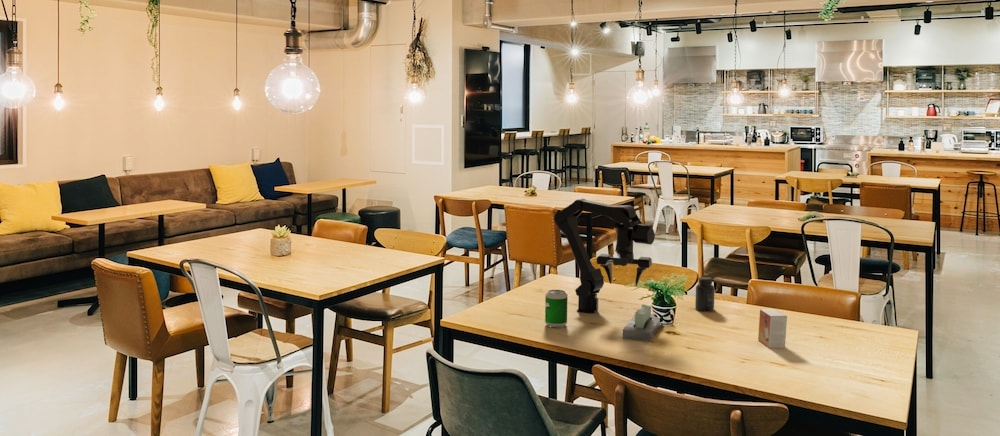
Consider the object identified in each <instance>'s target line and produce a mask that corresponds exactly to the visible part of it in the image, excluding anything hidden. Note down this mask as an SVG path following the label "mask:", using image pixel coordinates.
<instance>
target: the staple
mask: <svg viewBox="0 0 1000 436" xmlns="http://www.w3.org/2000/svg"><path fill="white" fill-rule="evenodd" d="M651 314H652V305H651V304H644V303H643V304H641V306H640V307H639V308H638V309H637V311H636V312H635V313H634V315H635V324H636V327H637V328H644V324H645V322H646V321H647V320H650V316H651Z"/></svg>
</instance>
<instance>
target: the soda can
mask: <svg viewBox="0 0 1000 436" xmlns="http://www.w3.org/2000/svg"><path fill="white" fill-rule="evenodd" d="M544 296H545V303H544V304H545V311H544V312H545V313H544V314H545V315H544V322H545V324H546V325H547V327H549V326H551V327H550V328H552V327H562V328H564V327H565V326H566V325H567V324H568V293H566V291H565V290H562V289H550V290H547V292H546V293H545V295H544ZM563 326H564V327H563Z"/></svg>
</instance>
